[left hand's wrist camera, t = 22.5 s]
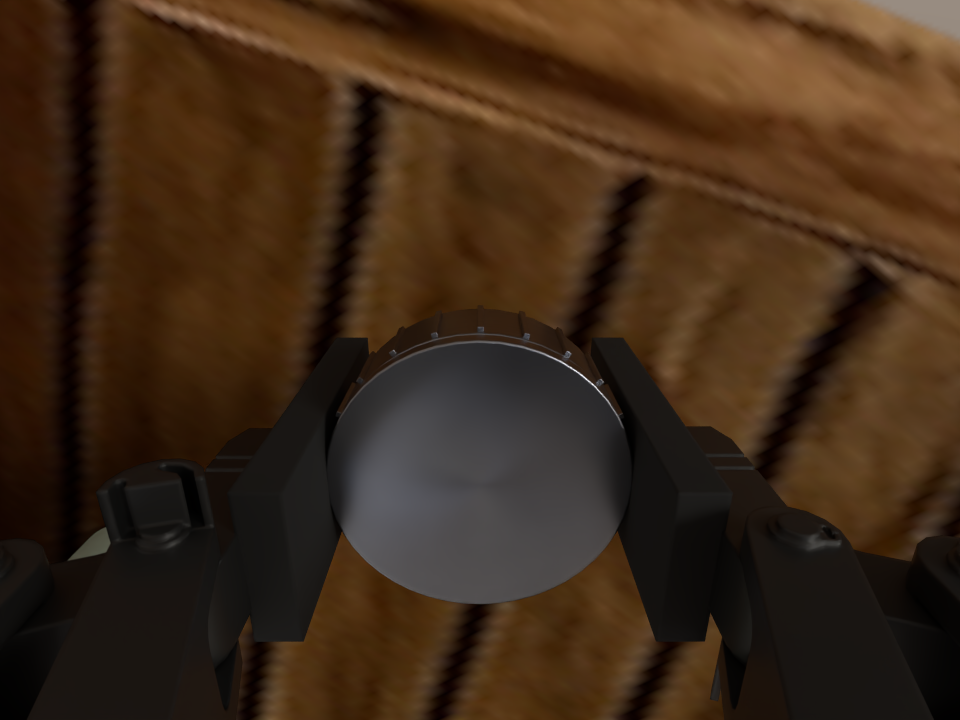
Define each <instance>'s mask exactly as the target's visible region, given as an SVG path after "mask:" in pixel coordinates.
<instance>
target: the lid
mask: <svg viewBox="0 0 960 720" xmlns="http://www.w3.org/2000/svg"><path fill="white" fill-rule="evenodd" d="M356 382H357V383H353V382H352V384H351V386H350V388H349V390H348V392H347V393H346V395H345V397H344V399H343V401H342V403H341V405H340V407H339V409H338V411H337V413H336V415H335V416H336V417H338V418H339V419H338V421H337V423H336V426H335V428H334V430H333V433H332V436H331V440H330V443H329V447H328V451H327V460H326V471H327V481H328V490H329V498H330V504H331V507H332V510H333V512H334V515H335V518H336V520H337V522H338V524H339V526H340V528H341V530H342V532H343V533H344V535H345V536H346V538H347V539H348V541H349V542H350V543H351V545H352V546H353V548H354V549H355V550H356V551H357V552H358V553H359V554H360V555H361V556H362V557H363V558H364V559H365V561H367V562H368V563H369V564H370V565H371V566H373V567H374V568H375V569H376V570H377V571H379V572H380V573H381V574H383V575H385V576H386V577H388V578H389V579H391V580H392V581H394V582H396V583H398V584H400V585H402V586H404V587H406V588H408V589H410V590H412V591H415V592H417V593H420V594H423V595H425V596H429V597H433V598H437V599H440V600H444V601H451V602H458V603H469V604H490V603H502V602H508V601H514V600H519V599H523V598H527V597H530V596H534V595H537V594H539V593H542V592H544V591H547V590H550V589H552V588H554V587H556V586H558V585H560V584H562V583H564V582H565V581H567V580H569V579H570V578H572V577H573V576H575V575H576V574H578V573H579V572H581V571H582V570H583V569H584V568H586V567H587V566H588V565H589V564H590V563H591V562H593V561H594V560H595V559H596V558H597V557H598V555H599V554H600V553H601V552H602V551H603V550H604V549H605V548H606V547H607V545H608V544H609V542H610V541H611V539H612V538H613V537H614V535H615V534H616V532H617V530H618V528H619V526H620V524H621V522H622V520H623V518H624V516H625V513H626V510H627V507H628V504H629V501H630V495H631V487H632V477H633V459H632V451H631V446H630V443H629V439H628V436H627V432H626V430H625V428H624V426H623V423H622V421H621V419H623V418H624V415H623V413H622V411H621V409H620V407H619V405H618V403H617V401H616V399H615V397H614V395H613V393H612V391H611V389H610V388H609V386H608V384H606V385H603V383H604V381H603V379H602V377H601V375H600V373H599V371H598V369H597V367H596V365H595V363H594V361H593V359H592V357H591V356H590V354H589V353H588V352H587V353H586V354H585V355H584V354H583V353H582V352H581V350H580V349H579V348H578V347H577V346H576V345H574V344H573V343H572V342H571V341H570V340H569V339H567V338H566V337H565V336H564V334H563V332H562V330H561V329H560V328H558V327H557V328H556V330H554V329H553V328H551V327H549V326H547V325H545V324H543V323H541V322H539V321H537V320H535V319H532V318H529V317H526V315H525V312H522V311H519V314H517V313H512V312H506V311H501V310H491V309H483V305H478V309H468V310H458V311H453V312H448V313H443V314H442V311H441V310H440V311H437V312H436V314H435V316H433V317H430V318H427V319H424V320H422V321H420V322H418V323H416V324H414V325H412V326H410V327H408V328H406V329H405V328H404V326H403V327H401V328H399V330H398V332H397V335H396V336H394V337H393V338H392V339H391V340H389V341H388V342H387V343H386V344H385V345H384V346H383V347H382V348H380V349H379V351H378V352H377V353H375V352H373V351H372V352H371V354H370V355H369V357H368V359H367V361H366V363H365V365H364V367H363V369H362V371H361V373H360V375H359V377H358V379H357V381H356Z"/></svg>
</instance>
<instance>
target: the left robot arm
mask: <svg viewBox="0 0 960 720" xmlns="http://www.w3.org/2000/svg"><path fill="white" fill-rule="evenodd" d="M368 357H369V350H368V338H336V339H335V341H334V342H333V344H332V345H331V347H330V348H329V349H328V351H327V352H326V354H325V355H324V356H323V358H322V359H321V361H320V362H319V364H318V365H317V366H316V368H315V369H314V371H313V372H312V373H311V375H310V376H309V378H308V379H307V381H306V382H305V383H304V385H303V386H302V388H301V389H300V390H299V392H298V393H297V395H296V396H295V398H294V399H293V400H292V402H291V403H290V405H289V406H288V407H287V409H286V410H285V412H284V413H283V414H282V416H281V417H280V419H279V420H278V422H277V423H276V424H275V426H274V427H273V428H249V429H248V430H246V431H244V432H243V433H241V434H239V435H238V436H236V437H235V438H233V439H231V440H230V441H228V442H227V444H226V445H225V446H224V447H223V448H222V450H221V451H220V452H219V453H218V454H217V456H216V459H213V461H212V462H211V463H210V464H209V465H208V467H207V468H206V471H205V472H204V469H203V467H202V466H200V465H199V464H198V463H196V462H195V461H190V460H185V459H162V460H157V461H153V462H148V463H143V464H140V465H137V466H135V467H132V468H129V469H127V470H124V471H122V472H120V473H119V474H117V475H115V476H114V477H112V478H110V479H109V480H107V481H106V482H105V483H104V484H103V485H102V486H101V487H100V488H99V489H98V490H97V491H96V495H97V498H98V502H99V505H100V509H101V512H102V516H103V519H104V522H105V526H106V529H107V533H108V536H109V540H110V545H109V547H108V549H107V551H106V552H105V553H101V554H98V555H93V556H88V557H83V558H78V559H73V560H68V561H63V562H59V563H54V564H49V563H48V560H47V557H46V554H45V551H44V548H43V546H41V545H40V544H39V543H37V542H36V541H35V540H29V539H20V538H15V539H8V540H0V720H236V714H237V705H238V697H239V688H240V679H241V671H242V657H241V650H240V645H239V640H238V638H239V636H240V633H241V631H242V629H243V627H244V625H245V623H246V621H247V619H248V617H249V615H250V618H251V624H252V629H253V634H254V639H255V641H304V639H305V636H306V633H307V630H308V627H309V624H310V621H311V619H312V616H313V613H314V610H315V607H316V604H317V601H318V598H319V596H320V593H321V590H322V587H323V584H324V581H325V578H326V575H327V573H328V570H329V567H330V564H331V561H332V558H333V555H334V552H335V550H336V547H337V544H338V541H339V538H340V535H341V532H342V530H341V528H340V526H339V524H338V522H337V520H336V518H335V515H334V512H333V510H332V507H331V504H330V498H329V490H328V481H327V471H326V460H327V451H328V447H329V443H330V440H331V436H332V433H333V430H334V428H335V426H336V423H337V421H338V419H339V418H338V417H336V416H335V415H336V413H337V411H338V409H339V407H340V405H341V403H342V401H343V399H344V397H345V395H346V393H347V392H348V390H349V388H350V386H351V384H352V382H353V383H357V382H356V381H357V379H358V377H359V375H360V373H361V371H362V369H363V367H364V365H365V363H366V361H367V359H368ZM591 357H592V359H593V361H594V363H595V365H596V367H597V369H598V371H599V373H600V375H601V377H602V379H603V381H604V383H603V385H606V384H608V386H609V388H610V389H611V391H612V393H613V395H614V397H615V399H616V401H617V403H618V405H619V407H620V409H621V411H622V413H623V415H624V418H623V419H621V421H622V423H623V426H624V428H625V430H626V432H627V436H628V439H629V443H630V446H631V451H632V459H633V477H632V487H631V495H630V501H629V504H628V507H627V510H626V513H625V516H624V518H623V520H622V522H621V524H620V526H619V528H618V533H619V536H620V539H621V542H622V545H623V548H624V551H625V553H626V556H627V559H628V562H629V565H630V568H631V571H632V574H633V576H634V579H635V582H636V585H637V588H638V591H639V594H640V597H641V599H642V602H643V605H644V608H645V611H646V614H647V617H648V620H649V622H650V625H651V628H652V631H653V634H654V637H655V640H656V641H705V637H706V632H707V627H708V622H709V616H710V613H711V615H712V617H713V619H714V621H715V623H716V625H717V627H718V629H719V631H720V633H721V635H722V640H721V645H720V650H719V655H718V660H717V665H716V670H715V675H714V680H713V685H712V690H711V697H710V699H711V700H715V701H718V699H719V694H720V689H721V695H722V704H723V712H724V720H960V538H958V537H950V536H934V537H926V538H925V539H924V540H922V541H921V542H919V543H918V544H917V547H916V550H915V553H914V555H913V558H912V561H911V562H909V561H904V560H899V559H894V558H889V557H884V556H879V555H874V554H870V553H865V552H861V551H857V550H853V548H852V546H851V544H850V542H849V541H848V540H847V538H846V537H845V536H844V534H843V533H842V532H841V531H840V530H839V529H838V528H836V527H835V526H833V525H832V524H831V523H829V522H828V521H826V520H825V519H823V518H820V517H818V516H816V515H814V514H811V513H809V512H807V511H803V510H799V509H795V508H791V507H787V506H786V504H785V503H784V502H783V501H782V500H781V498H780V497H779V496H778V495H777V494H776V492H775V491H774V490H773V489H772V488H771V486H770V485H769V484H768V483H767V481H766V480H765V479H764V478H763V477H762V475H761V474H760V473H759V472H758V471H757V470H755V469H754V466H753V465H752V463H751V462H750V461H749V460H748V459H747V457H744V454H743V452H742V451H741V450H740V449H739V448H738V446H737V445H736V444H735V443H734V442H733V440H732V439H730V438H729V437H727V436H725V435H724V434H722V433H720V432H719V431H717V430H715V429H714V428H712V427H686V426H685V425H684V424H683V422H682V421H681V419H680V418H679V416H678V415H677V414H676V412H675V411H674V409H673V408H672V407H671V405H670V404H669V402H668V401H667V399H666V398H665V397H664V395H663V394H662V392H661V391H660V390H659V388H658V387H657V385H656V384H655V382H654V381H653V380H652V378H651V377H650V375H649V374H648V373H647V371H646V370H645V368H644V367H643V365H642V364H641V363H640V361H639V360H638V358H637V357H636V356H635V354H634V353H633V351H632V350H631V348H630V347H629V346H628V344H627V343H626V341H625V340H624V339H623V338H592V345H591Z"/></svg>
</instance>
